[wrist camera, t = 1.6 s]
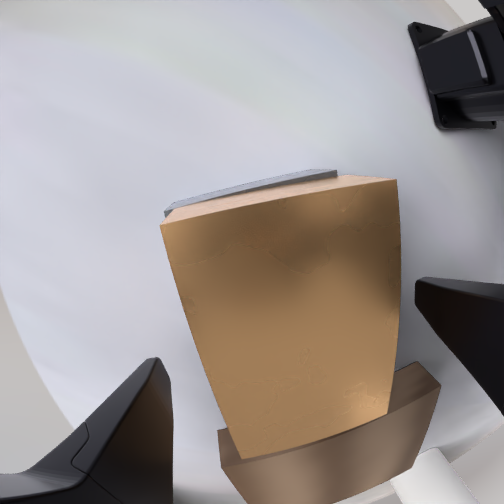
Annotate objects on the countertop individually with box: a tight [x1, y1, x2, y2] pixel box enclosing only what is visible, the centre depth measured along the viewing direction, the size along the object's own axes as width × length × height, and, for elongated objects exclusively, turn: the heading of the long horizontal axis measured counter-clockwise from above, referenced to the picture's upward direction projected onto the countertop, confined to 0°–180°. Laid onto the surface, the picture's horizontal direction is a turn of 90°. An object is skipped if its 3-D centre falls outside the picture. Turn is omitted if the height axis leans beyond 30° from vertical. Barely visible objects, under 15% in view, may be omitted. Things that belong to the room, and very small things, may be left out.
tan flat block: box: [160, 175, 401, 459], centre depth 9 cm, size 6×9×3 cm, turn 11°
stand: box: [217, 361, 441, 504], centre depth 16 cm, size 14×12×3 cm
